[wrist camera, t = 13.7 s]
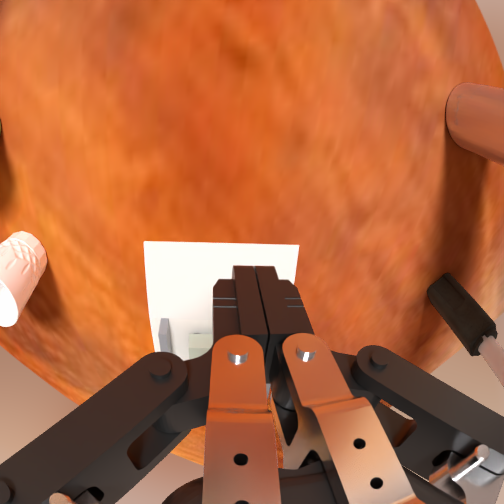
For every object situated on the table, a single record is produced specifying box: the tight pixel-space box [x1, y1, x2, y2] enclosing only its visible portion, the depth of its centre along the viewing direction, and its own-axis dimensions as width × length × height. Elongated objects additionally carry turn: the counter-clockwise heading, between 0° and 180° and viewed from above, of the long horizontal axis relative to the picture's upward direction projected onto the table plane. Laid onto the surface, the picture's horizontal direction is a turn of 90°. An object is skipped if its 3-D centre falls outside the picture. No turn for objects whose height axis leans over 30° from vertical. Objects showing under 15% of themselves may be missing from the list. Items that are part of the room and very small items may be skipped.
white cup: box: [0, 231, 47, 327], centre depth 29 cm, size 8×8×10 cm
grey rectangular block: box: [189, 333, 213, 359], centre depth 41 cm, size 8×10×4 cm
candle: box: [427, 273, 504, 387], centre depth 33 cm, size 5×5×25 cm
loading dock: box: [144, 241, 299, 399], centre depth 40 cm, size 18×25×6 cm
